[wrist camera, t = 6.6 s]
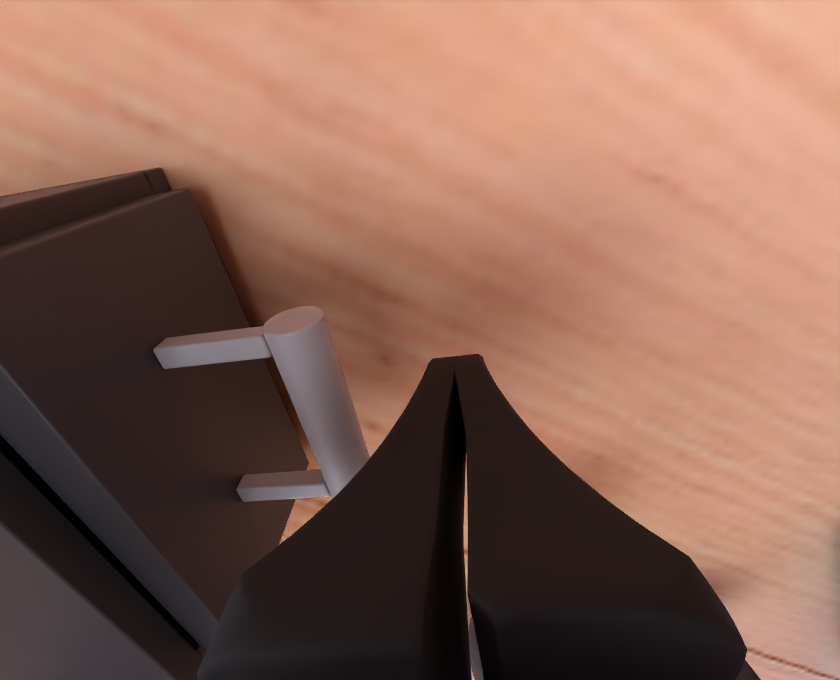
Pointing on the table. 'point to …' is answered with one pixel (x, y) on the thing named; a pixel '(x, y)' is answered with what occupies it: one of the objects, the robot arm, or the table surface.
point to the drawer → (164, 401)
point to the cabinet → (60, 540)
